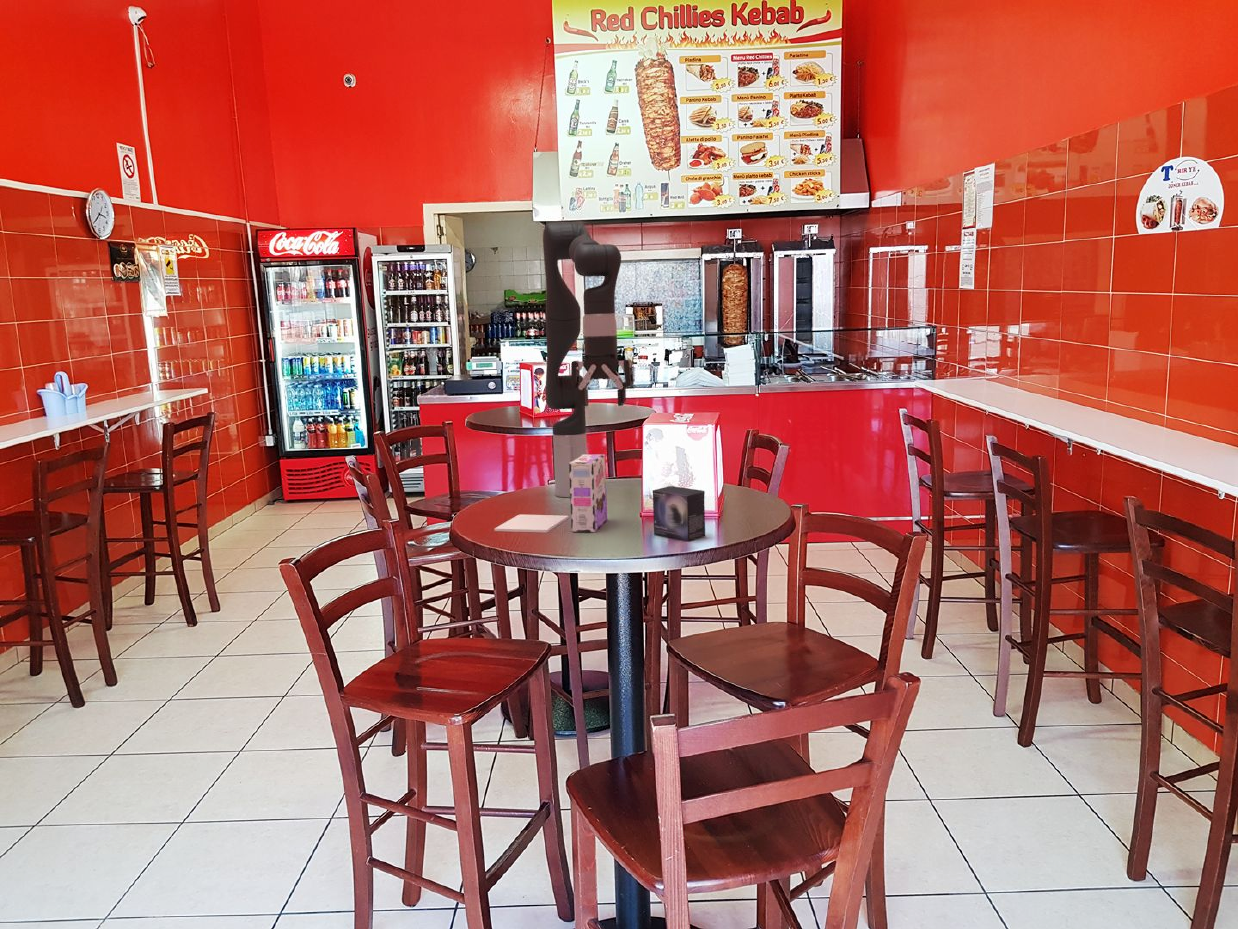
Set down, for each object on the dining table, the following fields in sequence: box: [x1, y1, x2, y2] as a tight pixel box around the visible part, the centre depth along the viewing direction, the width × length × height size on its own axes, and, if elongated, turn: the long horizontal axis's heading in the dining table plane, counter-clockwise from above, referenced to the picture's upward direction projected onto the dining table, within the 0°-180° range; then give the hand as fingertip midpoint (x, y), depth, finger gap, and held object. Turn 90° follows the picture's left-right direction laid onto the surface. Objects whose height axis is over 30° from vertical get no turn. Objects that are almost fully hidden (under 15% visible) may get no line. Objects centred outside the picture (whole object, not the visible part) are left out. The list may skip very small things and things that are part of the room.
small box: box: [652, 485, 706, 542], centre depth 214 cm, size 11×6×10 cm, turn 45°
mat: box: [494, 514, 570, 534], centre depth 231 cm, size 16×13×1 cm
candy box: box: [569, 453, 608, 533], centre depth 226 cm, size 14×6×16 cm, turn 168°
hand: (602, 405), depth 220 cm, fingers open, 8 cm apart
